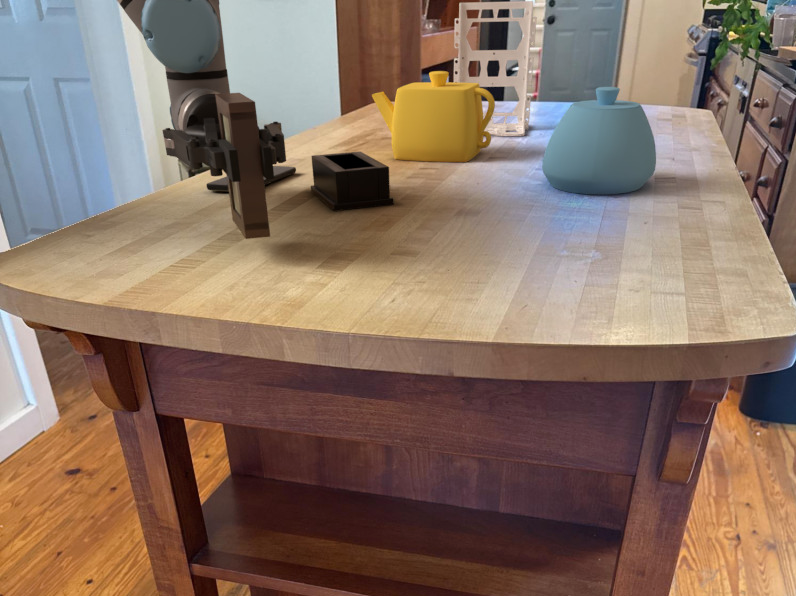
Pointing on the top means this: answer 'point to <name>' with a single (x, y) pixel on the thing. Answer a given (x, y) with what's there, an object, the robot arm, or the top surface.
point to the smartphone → (278, 174)
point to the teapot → (437, 120)
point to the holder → (350, 181)
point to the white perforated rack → (502, 55)
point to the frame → (244, 164)
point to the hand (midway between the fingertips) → (251, 164)
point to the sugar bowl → (601, 147)
